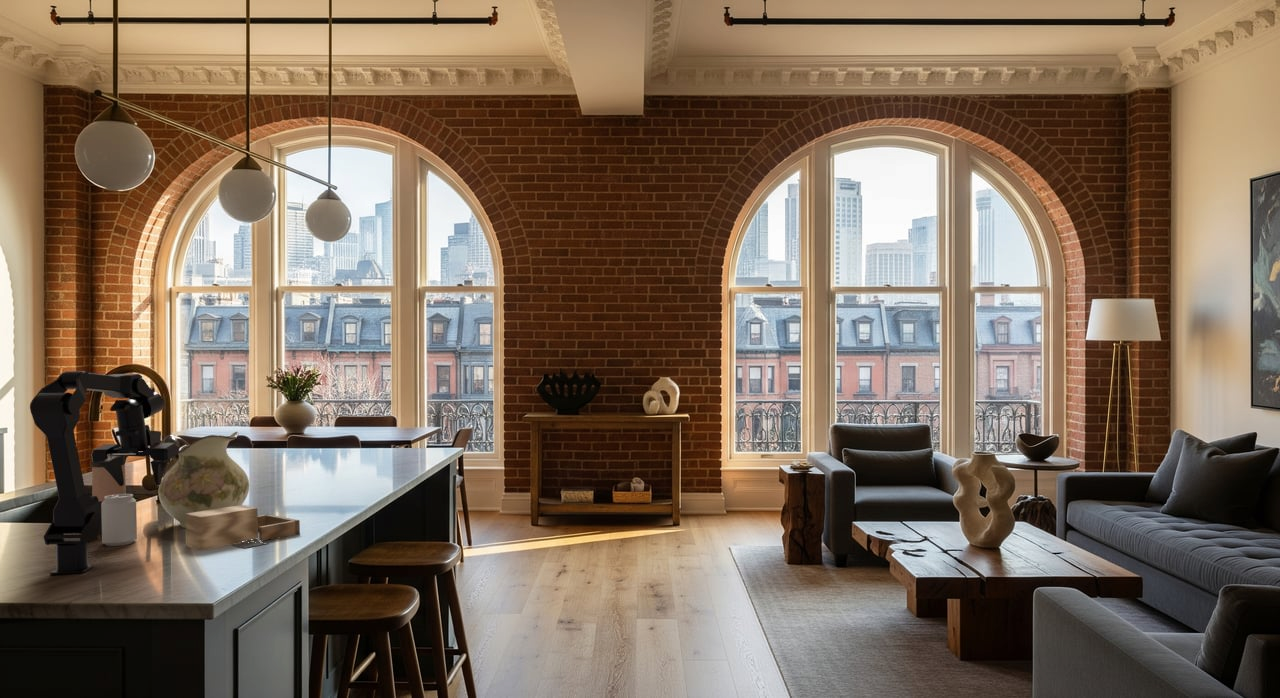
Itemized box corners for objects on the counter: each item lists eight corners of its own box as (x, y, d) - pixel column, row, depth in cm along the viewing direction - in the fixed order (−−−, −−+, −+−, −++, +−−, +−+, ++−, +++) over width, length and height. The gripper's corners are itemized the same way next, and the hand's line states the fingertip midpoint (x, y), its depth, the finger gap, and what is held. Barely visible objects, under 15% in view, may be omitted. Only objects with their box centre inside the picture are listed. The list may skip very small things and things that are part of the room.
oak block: (201, 550, 209) (201, 517, 209) (186, 546, 214) (185, 513, 214) (258, 539, 220) (257, 507, 220) (241, 536, 225) (241, 504, 225)
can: (121, 547, 214) (119, 498, 214) (94, 546, 216) (93, 497, 215) (144, 540, 221) (143, 492, 221) (118, 539, 223) (117, 492, 223)
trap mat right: (244, 548, 210) (244, 547, 210) (231, 545, 213) (231, 544, 213) (268, 543, 214) (268, 542, 214) (255, 540, 218) (255, 540, 218)
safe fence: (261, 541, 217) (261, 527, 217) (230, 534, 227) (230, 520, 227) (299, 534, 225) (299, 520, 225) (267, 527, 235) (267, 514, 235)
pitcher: (248, 527, 235) (245, 433, 235) (148, 536, 226) (145, 439, 226) (251, 513, 256) (249, 428, 256) (160, 522, 247) (157, 433, 247)
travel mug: (88, 535, 229) (87, 458, 229) (98, 529, 236) (96, 455, 236) (121, 533, 231) (120, 457, 231) (130, 527, 238) (128, 453, 238)
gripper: (186, 414, 221) (194, 473, 224) (113, 416, 222) (122, 474, 225) (162, 427, 210) (170, 489, 213) (85, 428, 211) (95, 490, 214)
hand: (140, 485), depth 217 cm, fingers open, 9 cm apart
